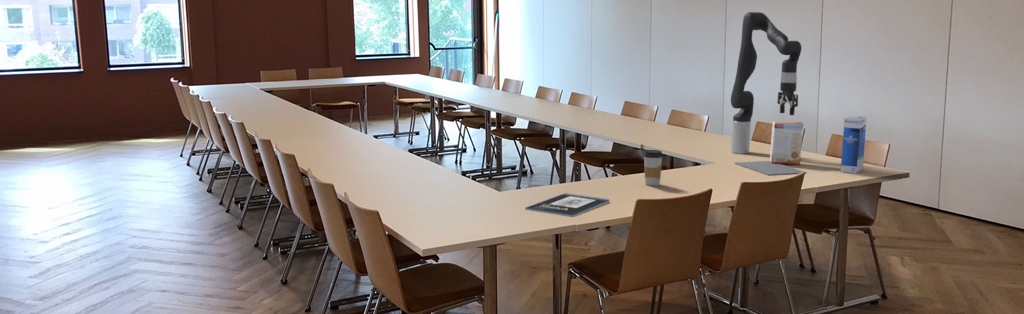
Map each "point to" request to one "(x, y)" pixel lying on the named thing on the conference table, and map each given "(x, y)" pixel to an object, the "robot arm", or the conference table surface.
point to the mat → (769, 168)
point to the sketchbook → (568, 204)
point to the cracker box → (786, 142)
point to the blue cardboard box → (853, 144)
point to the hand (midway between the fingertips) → (786, 114)
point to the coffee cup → (652, 167)
